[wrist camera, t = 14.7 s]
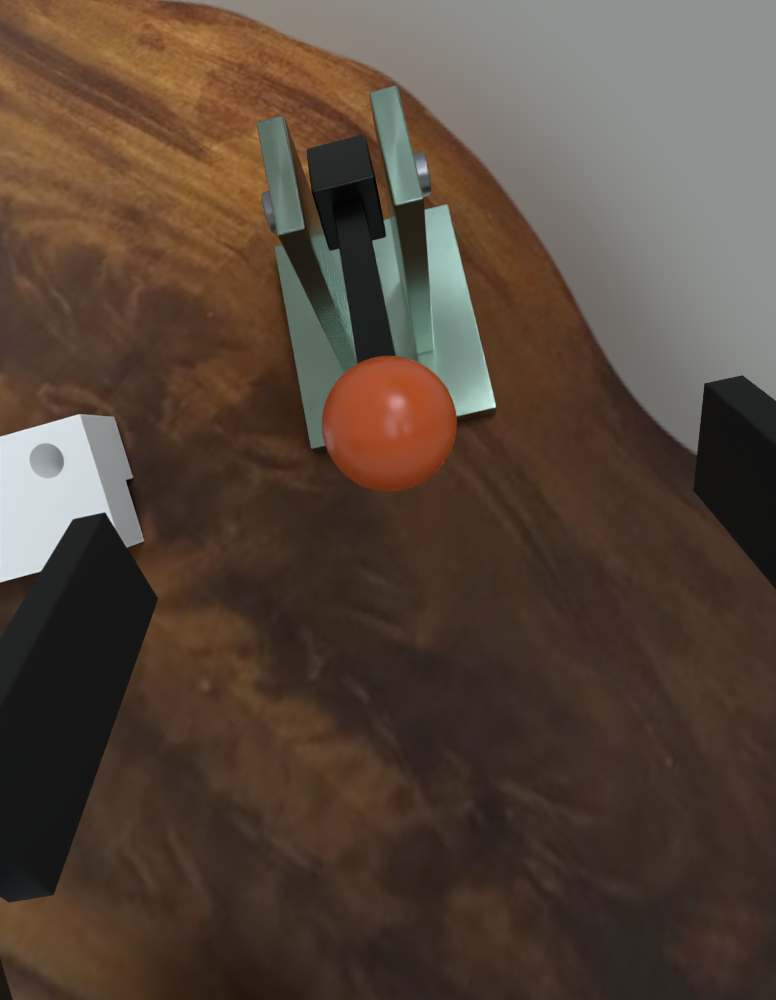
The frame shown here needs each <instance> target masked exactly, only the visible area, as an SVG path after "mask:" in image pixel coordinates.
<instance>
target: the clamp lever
mask: <svg viewBox="0 0 776 1000" xmlns="http://www.w3.org/2000/svg"><path fill="white" fill-rule="evenodd" d="M307 159H308V167H309V174H310V182H311V190H312V195H313V198H314V202H315V205H316V208H317V212H318V215H319V219H320V222H321V225H322V229H323V232H324V236H325V239H326V242H327V246H328V249H329V250H330V251H332V250H337V249H339V251H340V257H341V264H342V270H343V276H344V283H345V289H346V295H347V302H348V308H349V314H350V320H351V327H352V333H353V339H354V346H355V352H356V358H357V364H356V365H355V366H353V367H351V368H350V369H349V370H348V371H346V372H345V373H344V374H343V375H342V376H341V377H340V378H339V379H338V380H337V382H336V383H335V384H334V386H333V388H332V389H331V391H330V392H329V395H328V397H327V399H326V402H325V405H324V409H323V415H322V433H323V439H324V443H325V446H326V448H327V451H328V453H329V455H330V457H331V459H332V460H333V462H334V464H335V465H336V466H337V467H338V469H339V470H340V471H341V472H342V473H343V474H344V475H345V476H346V477H348V478H349V479H351V480H352V481H354V482H355V483H357V484H359V485H361V486H363V487H365V488H368V489H372V490H375V491H381V492H397V491H404V490H407V489H411V488H413V487H416V486H418V485H420V484H422V483H424V482H426V481H427V480H428V479H430V478H431V477H432V476H434V475H435V474H436V473H437V472H438V471H439V469H440V468H441V467H442V466H443V465H444V463H445V462H446V460H447V459H448V457H449V455H450V453H451V451H452V449H453V446H454V442H455V438H456V432H457V415H456V410H455V405H454V402H453V399H452V397H451V395H450V393H449V391H448V389H447V387H446V386H445V384H444V383H443V382H442V381H441V379H440V378H439V377H438V376H437V375H436V374H435V373H434V372H433V371H431V370H430V369H429V368H427V367H426V366H424V365H422V364H420V363H418V362H416V361H414V360H411V359H409V358H404V357H399V356H396V352H395V348H394V343H393V338H392V333H391V328H390V324H389V319H388V314H387V309H386V305H385V300H384V295H383V290H382V285H381V281H380V276H379V271H378V266H377V261H376V257H375V252H374V247H373V242H372V241H373V240H377V239H381V238H385V237H386V230H385V225H384V220H383V215H382V210H381V204H380V199H379V194H378V189H377V184H376V179H375V174H374V170H373V166H372V162H371V157H370V153H369V149H368V145H367V140H366V137H365V135H359V136H355V137H352V138H348V139H344V140H340V141H336V142H332V143H328V144H324V145H321V146H317V147H313V148H309V149H307Z"/></svg>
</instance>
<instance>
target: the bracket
mask: <svg viewBox="0 0 776 1000" xmlns="http://www.w3.org/2000/svg"><path fill="white" fill-rule="evenodd" d="M132 478H133V476H132V473H131V470H130V466H129V463H128V460H127V457H126V453H125V450H124V447H123V444H122V440H121V437H120V434H119V431H118V427H117V424H116V421H115V418H114V417H110V416H97V415H84V414H79V415H75V416H72V417H68V418H65V419H61V420H58V421H54V422H51V423H47V424H44V425H40V426H36V427H33V428H29V429H26V430H22V431H19V432H15V433H12V434H8V435H5V436H1V437H0V582H3V581H7V580H11V579H14V578H18V577H22V576H25V575H29V574H33V573H37V572H40V571H42V569H43V567H44V566H45V564H46V562H47V561H48V559H49V558H50V556H51V554H52V553H53V551H54V549H55V548H56V546H57V544H58V543H59V541H60V539H61V538H62V536H63V534H64V533H65V531H66V529H67V528H68V526H69V525H70V523H71V521H72V520H73V519H76V518H80V517H85V516H90V515H94V514H99V513H104V512H105V513H106V514H107V516H108V518H109V519H110V521H111V523H112V524H113V526H114V527H115V529H116V531H117V532H118V534H119V536H120V537H121V539H122V541H123V542H124V544H125V545H126V547H127V548H128V547H130V546H133V545H135V544H138V543H141V542H143V541H144V538H143V535H142V532H141V528H140V525H139V522H138V519H137V515H136V512H135V509H134V506H133V502H132V499H131V496H130V493H129V490H128V486H127V483H126V480H128V479H132Z"/></svg>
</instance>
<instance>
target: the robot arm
mask: <svg viewBox="0 0 776 1000" xmlns="http://www.w3.org/2000/svg"><path fill="white" fill-rule="evenodd" d="M694 492H695V493H696V494H697V495H698V496H699V498H700V499H701V500H702V501H703V502H704V504H705V505H706V506H707V507H708V508H709V510H710V511H711V512H712V513H713V514H714V516H715V517H716V518H717V519H718V520H719V522H720V523H721V524H722V525H723V526H724V528H725V529H726V530H727V531H728V532H729V534H730V535H731V536H732V537H733V538H734V540H735V541H736V542H737V543H738V544H739V546H740V547H741V548H742V549H743V550H744V552H745V553H746V554H747V555H748V556H749V558H750V559H751V560H752V561H753V562H754V564H755V565H756V566H757V567H758V568H759V570H760V571H761V572H762V573H763V574H764V576H765V577H766V578H767V579H768V580H769V582H770V583H771V584H772V585H773V586H774V587H775V589H776V401H775V400H774V399H773V398H771V397H770V396H768V395H767V394H766V393H765V392H763V391H762V390H761V389H759V388H758V387H757V386H756V385H754V384H753V383H752V382H750V381H749V380H748V379H746V378H745V377H744V376H738V377H733V378H729V379H724V380H719V381H714V382H710V383H705V385H704V394H703V404H702V415H701V423H700V434H699V443H698V452H697V462H696V472H695V482H694ZM157 600H158V598H157V596H156V594H155V593H154V591H153V590H152V588H151V586H150V585H149V583H148V581H147V580H146V578H145V577H144V575H143V573H142V572H141V570H140V568H139V567H138V565H137V563H136V562H135V560H134V559H133V557H132V555H131V554H130V552H129V550H128V549H127V547H126V545H125V544H124V542H123V541H122V539H121V537H120V536H119V534H118V532H117V531H116V529H115V527H114V526H113V524H112V523H111V521H110V519H109V518H108V516H107V514H106V513H105V512H104V513H99V514H94V515H90V516H85V517H80V518H76V519H73V520H72V521H71V523H70V525H69V526H68V528H67V529H66V531H65V533H64V534H63V536H62V538H61V539H60V541H59V543H58V544H57V546H56V548H55V549H54V551H53V553H52V554H51V556H50V558H49V559H48V561H47V562H46V564H45V566H44V567H43V569H42V571H41V572H40V574H39V576H38V577H37V579H36V581H35V582H34V584H33V586H32V587H31V589H30V591H29V592H28V594H27V595H26V597H25V599H24V600H23V602H22V604H21V605H20V607H19V609H18V610H17V612H16V614H15V615H14V617H13V619H12V620H11V622H10V623H9V625H8V627H7V628H6V630H5V632H4V633H3V635H2V637H1V638H0V897H2V898H3V899H5V900H6V901H7V902H14V901H20V900H26V899H32V898H38V897H45V896H51V895H54V892H55V889H56V887H57V884H58V881H59V878H60V875H61V872H62V870H63V867H64V864H65V861H66V858H67V855H68V853H69V850H70V847H71V844H72V841H73V838H74V836H75V833H76V830H77V827H78V824H79V821H80V819H81V816H82V813H83V810H84V807H85V804H86V802H87V799H88V796H89V793H90V790H91V787H92V785H93V782H94V779H95V776H96V773H97V770H98V768H99V765H100V762H101V759H102V756H103V753H104V751H105V748H106V745H107V742H108V739H109V736H110V734H111V731H112V728H113V725H114V722H115V719H116V717H117V714H118V711H119V708H120V705H121V702H122V700H123V697H124V694H125V691H126V688H127V685H128V683H129V680H130V677H131V674H132V671H133V668H134V666H135V663H136V660H137V657H138V654H139V651H140V649H141V646H142V643H143V640H144V637H145V634H146V632H147V629H148V626H149V623H150V620H151V617H152V615H153V612H154V609H155V606H156V603H157ZM0 1000H13V999H12V996H11V993H10V989H9V986H8V983H7V980H6V976H5V973H4V970H3V966H2V963H1V960H0Z"/></svg>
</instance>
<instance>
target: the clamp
mask: <svg viewBox="0 0 776 1000" xmlns="http://www.w3.org/2000/svg"><path fill="white" fill-rule="evenodd" d="M369 96H370V102H371V108H372V114H373V120H374V126H375V132H376V138H377V144H378V150H379V156H380V162H381V168H382V174H383V181H384V187H385V193H386V199H387V205H388V211H389V217H390V218H388V219H384V225H385V230H386V237H385V238H381V239H377V240H373V241H372V242H373V247H374V252H375V257H376V261H377V266H378V271H379V276H380V281H381V285H382V290H383V295H384V300H385V305H386V309H387V314H388V319H389V324H390V328H391V333H392V338H393V343H394V348H395V352H396V356H399V357H404V358H409V359H411V360H414V361H416V362H418V363H420V364H422V365H424V366H426V367H427V368H429V369H430V370H431V371H433V372H434V373H435V374H436V375H437V376H438V377H439V378H440V379H441V381H442V382H443V383H444V384H445V386H446V387H447V389H448V391H449V393H450V395H451V397H452V399H453V402H454V405H455V410H456V415H457V422H462V421H466V420H471V419H475V418H480V417H484V416H489V415H493V414H495V413H496V408H497V405H496V401H495V397H494V393H493V389H492V384H491V380H490V376H489V372H488V368H487V363H486V359H485V355H484V351H483V347H482V343H481V338H480V334H479V330H478V326H477V322H476V318H475V313H474V309H473V305H472V301H471V297H470V293H469V288H468V284H467V280H466V276H465V272H464V268H463V263H462V259H461V255H460V251H459V247H458V243H457V238H456V234H455V230H454V226H453V222H452V218H451V213H450V209H449V205H448V204H445V205H441V206H437V207H433V208H429V209H424V197H423V196H427V195H430V194H431V183H430V176H429V170H428V165H427V160H426V157H425V154H424V152H419V153H416V154H413V150H412V145H411V141H410V137H409V132H408V128H407V124H406V120H405V115H404V111H403V107H402V102H401V98H400V94H399V89H398V87H397V86H392V87H388V88H384V89H380V90H376V91H373V92H370V95H369ZM257 128H258V133H259V139H260V144H261V150H262V155H263V161H264V166H265V172H266V177H267V182H268V188H269V191H266V192H263V193H262V203H263V208H264V212H265V215H266V219H267V222H268V224H269V227H270V229H271V231H272V232H273V233H277V235H278V237H279V239H280V241H281V243H282V245H279V246H275V247H274V249H275V255H276V260H277V266H278V271H279V277H280V282H281V288H282V293H283V299H284V304H285V310H286V315H287V321H288V326H289V332H290V337H291V343H292V348H293V354H294V359H295V365H296V370H297V376H298V381H299V387H300V392H301V398H302V403H303V409H304V414H305V420H306V425H307V431H308V436H309V442H310V447H311V449H312V450H313V451H314V452H315V453H316V454H317V453H322V452H326V451H327V448H326V446H325V443H324V439H323V433H322V415H323V409H324V405H325V402H326V399H327V397H328V395H329V392H330V391H331V389H332V388H333V386H334V384H335V383H336V382H337V380H338V379H339V378H340V377H341V376H342V375H343V374H344V373H345V372H346V371H348V370H349V369H350V368H351V367H353V366H355V365H356V364H357V358H356V352H355V346H354V339H353V333H352V327H351V320H350V314H349V308H348V302H347V295H346V289H345V283H344V276H343V270H342V264H341V257H340V251H339V249H337V250H332V251H330V250H329V249H328V246H327V242H326V239H325V236H324V232H323V229H322V225H321V222H320V219H319V215H318V212H317V208H316V206H315V203H314V200H313V197H312V194H311V191H310V188H309V186H308V183H307V180H306V177H305V174H304V171H303V168H302V166H301V163H300V160H299V157H298V154H297V151H296V148H295V146H294V143H293V140H292V137H291V134H290V131H289V129H288V126H287V123H286V120H285V118H284V116H279V117H275V118H271V119H267V120H264V121H260V122H258V123H257Z"/></svg>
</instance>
